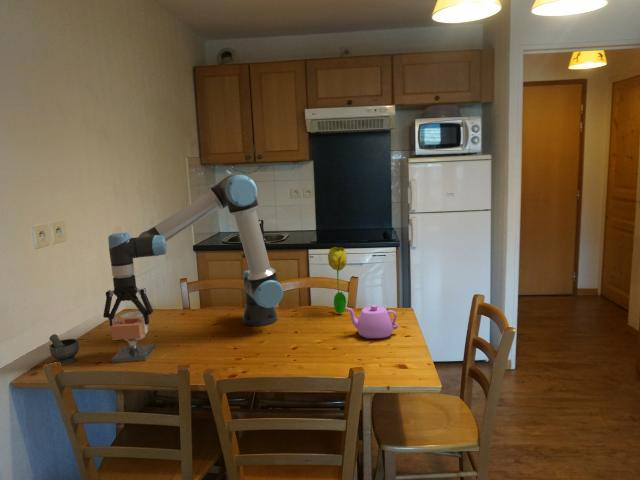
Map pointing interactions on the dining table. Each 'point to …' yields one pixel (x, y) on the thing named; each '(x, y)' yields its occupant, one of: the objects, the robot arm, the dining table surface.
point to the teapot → (374, 322)
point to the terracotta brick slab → (127, 328)
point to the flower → (337, 262)
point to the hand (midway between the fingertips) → (130, 333)
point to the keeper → (133, 352)
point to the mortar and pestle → (63, 349)
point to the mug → (133, 314)
